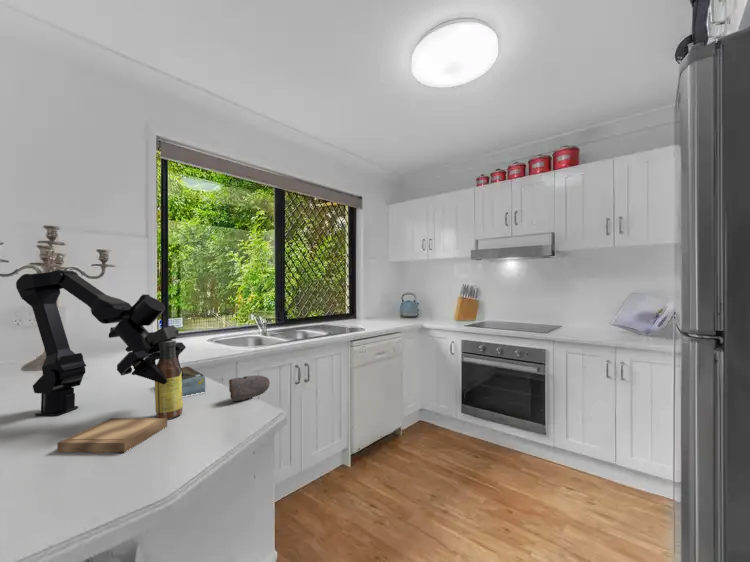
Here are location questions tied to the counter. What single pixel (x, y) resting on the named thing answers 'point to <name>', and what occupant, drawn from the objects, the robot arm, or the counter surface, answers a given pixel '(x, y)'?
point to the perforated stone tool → (247, 387)
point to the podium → (113, 435)
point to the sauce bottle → (169, 382)
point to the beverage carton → (192, 381)
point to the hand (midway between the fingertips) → (174, 379)
